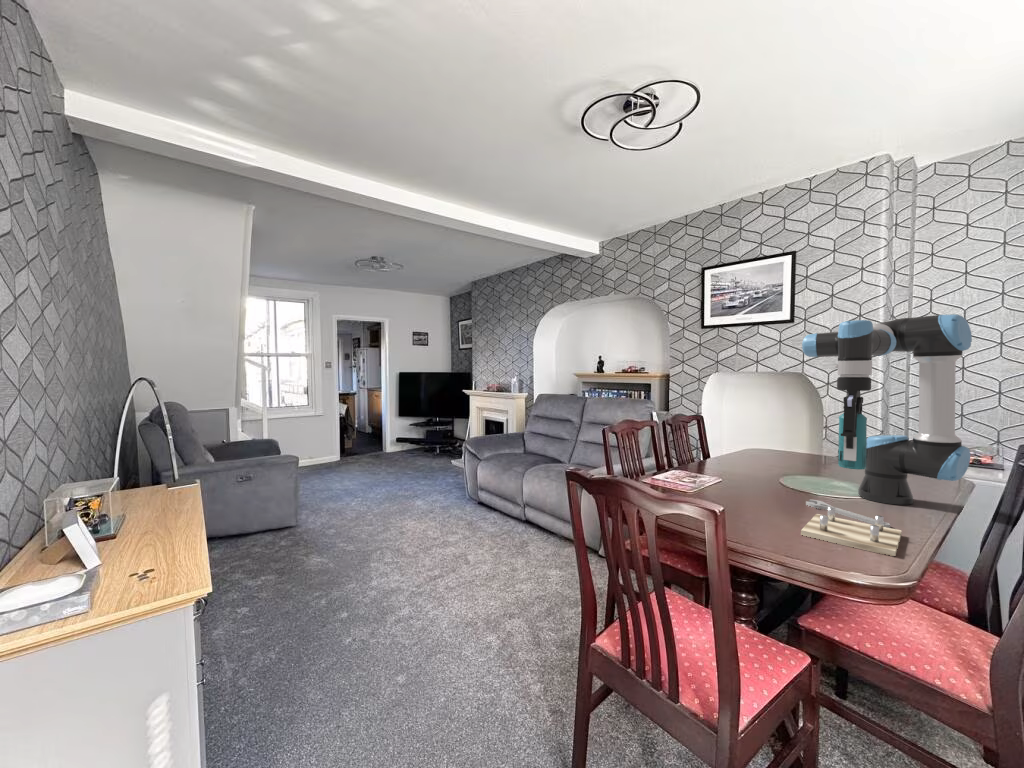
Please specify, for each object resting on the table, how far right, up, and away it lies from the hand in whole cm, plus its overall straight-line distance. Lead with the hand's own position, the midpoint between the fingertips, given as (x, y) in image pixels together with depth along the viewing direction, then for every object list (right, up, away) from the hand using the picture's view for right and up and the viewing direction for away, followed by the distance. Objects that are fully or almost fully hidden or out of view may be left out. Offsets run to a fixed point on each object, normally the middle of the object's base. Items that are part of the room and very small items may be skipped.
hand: (851, 458), depth 122 cm
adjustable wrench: (+11, -22, +18) cm, 31 cm away
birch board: (0, -22, 0) cm, 22 cm away
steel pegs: (0, -20, 0) cm, 20 cm away
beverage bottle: (0, -4, 0) cm, 4 cm away
